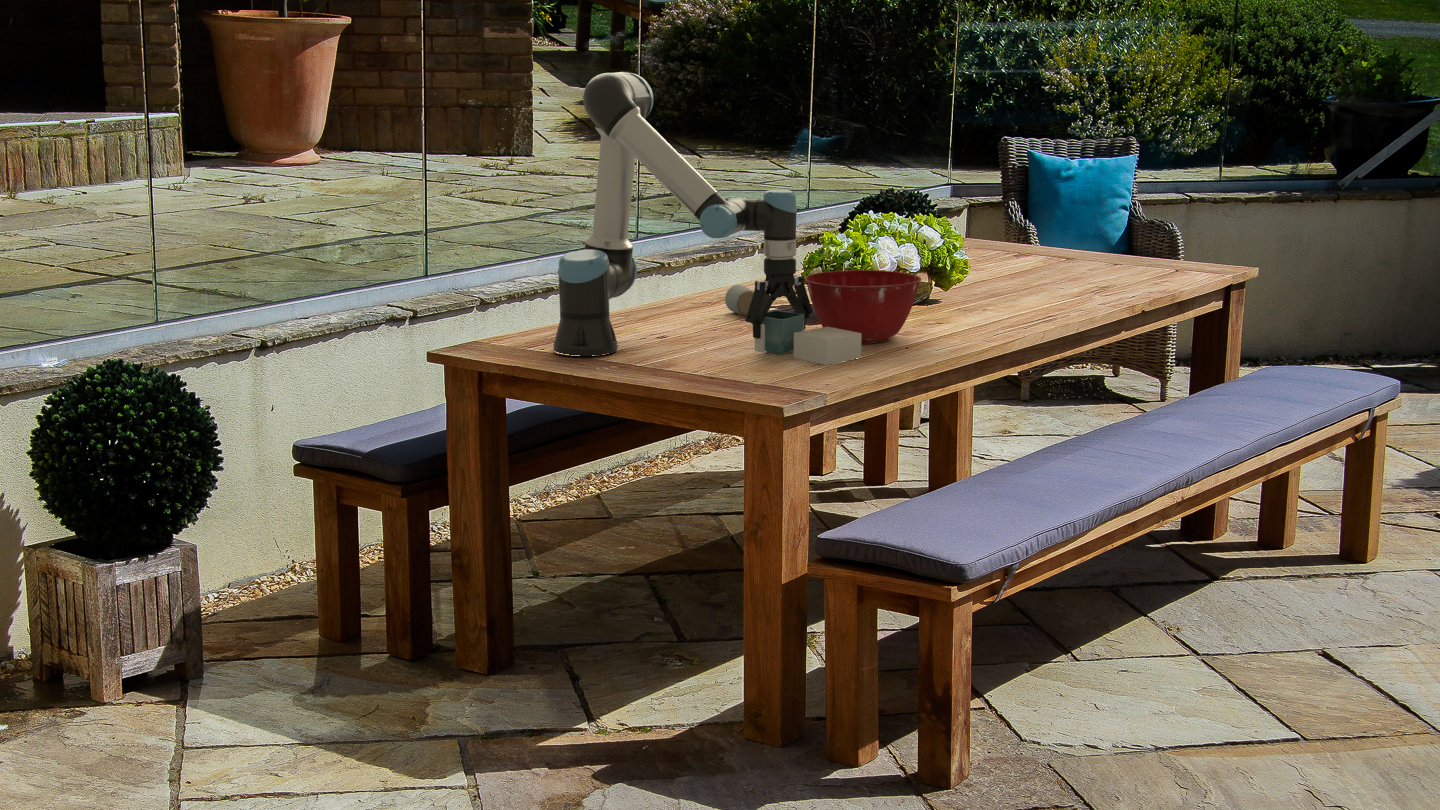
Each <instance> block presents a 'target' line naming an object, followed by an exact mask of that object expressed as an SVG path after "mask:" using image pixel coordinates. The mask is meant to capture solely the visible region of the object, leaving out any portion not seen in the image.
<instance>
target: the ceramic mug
mask: <svg viewBox="0 0 1440 810" xmlns="http://www.w3.org/2000/svg"><path fill="white" fill-rule="evenodd" d="M754 291H755V290H753V289H751V288H749V287H747V286H746V285H743V284H734V285H732V286H731V287H729V289H727V291H726V294H725V297H724V299H725V300H724V301H725V305H726V307H727V309H728V310H729V311H730V312H733V313H735V314H737V315H740V316H744V317H747V313H748V310H749V307H750V304H751V300H752V297H753V294H754Z"/></svg>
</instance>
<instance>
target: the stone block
mask: <svg viewBox="0 0 1440 810" xmlns="http://www.w3.org/2000/svg"><path fill="white" fill-rule="evenodd" d="M861 334H862V333H858V332H853V331H848V330H842V329H837V328H832V327H817V328H813V329H807V330H806V329H805V330H804V331H800V332H794V350H793V359H796V358H797V359H796V360H800V359H801V360H802V361H805V362H809V361H810V363H814V362H815V364H818V363H820V364H819V365H823V364H825V365H824V366H830V365H829V364H832V365H835V364H834V363H837V364H839V363H838V362H842V361H847V360H852V359H856V358H860V357H861V358H862V343H861ZM852 361H853V360H852ZM847 362H848V361H847ZM842 363H843V362H842Z"/></svg>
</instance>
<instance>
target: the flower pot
mask: <svg viewBox="0 0 1440 810" xmlns="http://www.w3.org/2000/svg"><path fill="white" fill-rule="evenodd" d="M804 315H805V314H800V313H795V312H791V311H784V310H776V309H775V310H774V309H773V310H771V311H770V310H769V311H768V313H767V315H766V317H765V319H764V321H763V322H762V324H763V325H765V352H766V353H773V354H780V355H784V354H786V353H790V352H794V332H800V331H802V330H803V323H804ZM758 319H759V318H758Z"/></svg>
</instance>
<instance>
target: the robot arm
mask: <svg viewBox="0 0 1440 810" xmlns="http://www.w3.org/2000/svg"><path fill="white" fill-rule="evenodd" d="M582 101H583V102H582V103H583V107H584V110H585V113H586V114H587V116H588V117H589V118H590V120H591V121H592V122H593V123H594V124H595V130H596V131H597V132H598V134H599V135H600V141H599V142H600V143H599V152H598V153H599V155H598V163H597V164H598V165H597V166H598V167H597V178H596V190H595V200H594V201H595V202H594V211H593V212H594V213H593V222H592V223H593V224H592V235H591V236H590V237H588V238H587V239H586V240H585V241H584V242H585V243H584V244H585V245H584V249H578V250H576V251H569V252H567V253H565V254H563V255H562V256H561V257H560V258H559V260H558V270H557V275H558V287H559V288H558V291H559V292H558V293H559V296H558V297H559V323H558V327H557V329H556V330H557V331H556V333H555V337H554V341H553V352H554V351H556V352H559V353H563V354H569V355H580V356H592V355H602V354H607V353H612V352H615V351H616V350H617V349H618V340H617V337H616V334H615V331H614V328H613V325H612V322H611V319H610V300H612V299H613V298H614V299H615V298H618V297H620V296H622V295H624V293H626V292H627V291H628V290H630V289H631V287H632V286H633V285H634V283H635V281H636V278H637V275H638V274H637V273H638V268H637V266H638V265H637V263H636V260H635V259H634V257H633V252H634V251H633V250H634V245H633V244H632V243H631V241H630V240H629V237H628V236H629V226H630V215H631V204H632V197H633V196H632V195H633V184H634V173H635V163H636V160H638V162H640V164H641V165H643V166H644V168H646V170H648V171H649V173H650V174H652V175H653V177H654V178H655V179H657V181H659V183H661V185H663V186H664V187H665V188H666V189H667V191H669V192H670V194H672V195H673V196H674V197H675V198H676V199H677V200H678V201H679V202H680V203H681V204H682V205H683V206H684V207H685V208H686V209H687V210H688V212H690V213H691V214H692V215H693V216H694V217H695V218H696V219H697V220H698V221H699V226H700V229H701V230H702V233H703V234H705V236H707V237H709V238H711V239H725V238H727V237H729V236H731V235H733V234H736V233H738V232H741V231H742V232H744V231H748V232H750V231H751V232H753V231H755V232H763V255H764V256H765V258H764V259H763V273H764V275H765V280H763V281H761V280H755V281H754V290H753V291H754V294H753V297H752V300H751V304H750V307H749V310H748V313H747V316H745V321H746V323H749V324H752V337H753V338H754V351H755V352H759V353H763V354H764V353H765V352H766V351H765V325H763V324H762V322H763V321H764V319H765V317H766V315H767V313H768V312H770V309H771V307H772V305H773V303H774V302H775V301H776V300H777V299H779V298H782V297H784V298H786V299H787V301H788V304H789V305H790V307H791V308H792V310H793V311H794V313H800V314H805V315H804V323H803V330H802V331H806V324H807V323H806V321H807V320H806V319H809V318H810V315H811V314H812V313H813V306H812V303H811V302H810V301H811V300H810V298H809V295H808V292H807V289H806V286H805V277H804V276H802V275H798V274H796V272H797V259H796V258H795V256H796V254H797V215H798V210H797V209H798V208H797V196H796V193H795V192H794V191H793V190H789V189H769V190H766V191H765V192H764V194H763V197H762V198H744V197H733V196H729V197H723V196H722V195H721V194H720V193H719V192H718V191H717V190H716V189H715V188H714V187H713V186H712V185H711V184H710V183H709V181H707V180H706V179H705V177H703V176H702V175H701V173H699V172H698V171H697V170H696V169H695V168H694V167H693V166H692V165H691V164H690V163H689V162H688V161H687V160H686V158H685V157H683V156H682V155H681V154H680V153H679V152H678V151H677V150H676V149H675V148H674V147H673V146H672V145H671V144H670V143H669V142H668V141H667V140H666V139H665V138H664V137H663V136H662V135H661V134H660V133H659V132H658V131H657V129H655V128H654V127H653V126H652V125H651V124H650V123H649V122H648V121H647V120H646V118H647V117H648V116H649V114H650V113H651V112H652V109H653V106H654V92H653V90H652V88H651V86H650V84H649V83H648V82H647V81H646V79H645V78H644V77H642V76H640V75H638V74H636V73H632V72H629V71H620V72H619V71H618V72H617V71H616V72H604V73H600V74H597V75H596V76H594V77H592V78H591V79H590V80H589V81H588V83H587V84H586V86H585V88H584V91H583V95H582ZM758 318H759V319H758ZM617 351H618V350H617ZM615 353H616V352H615Z"/></svg>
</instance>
